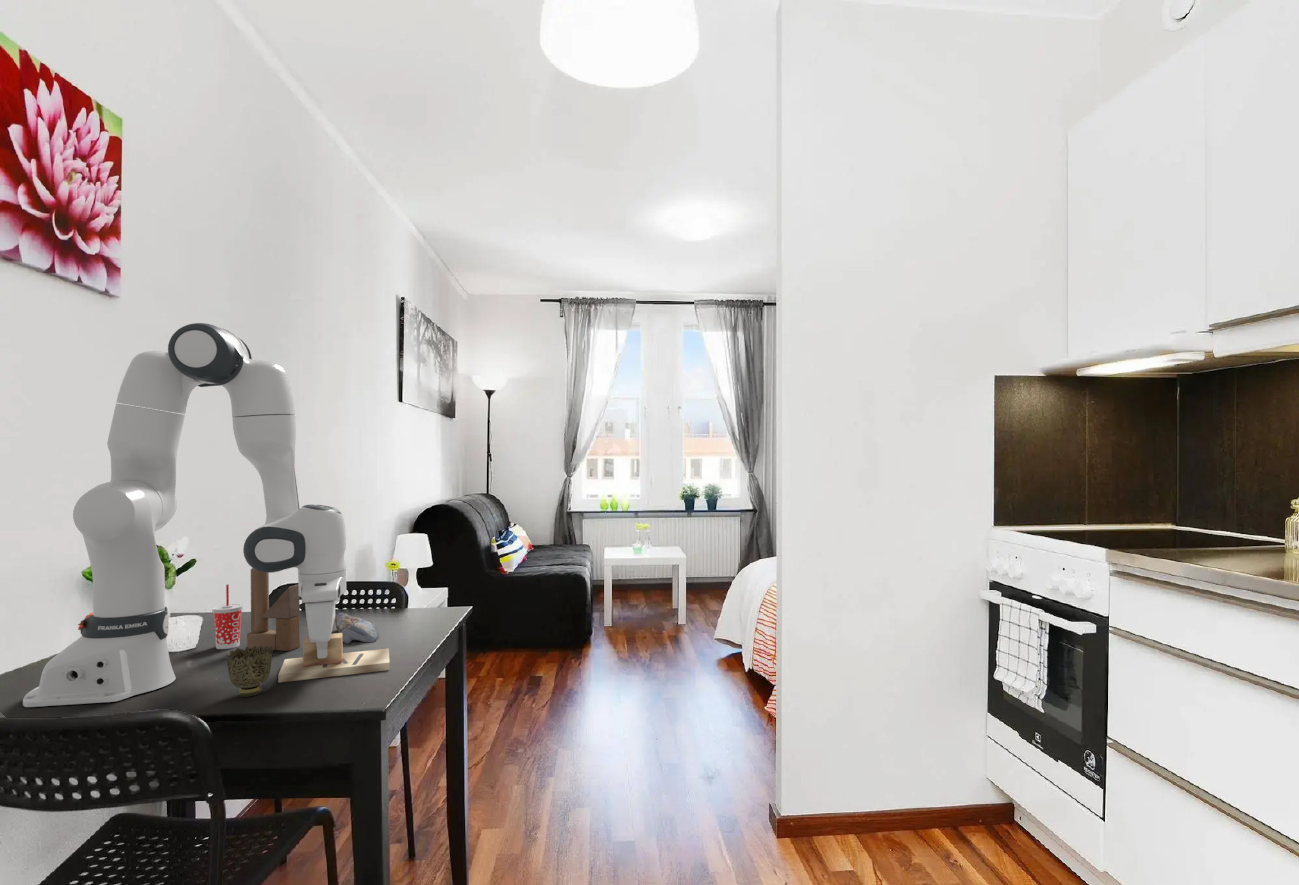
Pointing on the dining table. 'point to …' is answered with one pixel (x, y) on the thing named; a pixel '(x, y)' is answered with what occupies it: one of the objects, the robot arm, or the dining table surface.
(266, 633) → the stacked wooden blocks
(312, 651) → the block
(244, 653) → the cup
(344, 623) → the stone
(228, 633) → the beverage cup
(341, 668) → the board
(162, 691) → the dining table surface
